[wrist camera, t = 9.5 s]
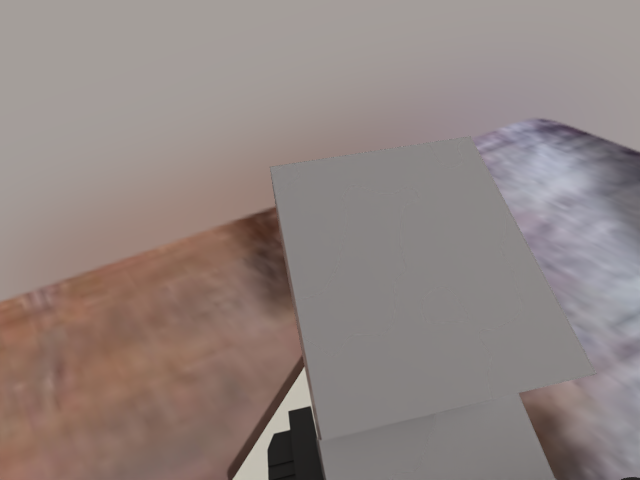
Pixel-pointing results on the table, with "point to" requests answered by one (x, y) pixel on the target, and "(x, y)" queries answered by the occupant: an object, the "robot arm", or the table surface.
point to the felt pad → (275, 431)
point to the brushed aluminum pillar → (419, 315)
